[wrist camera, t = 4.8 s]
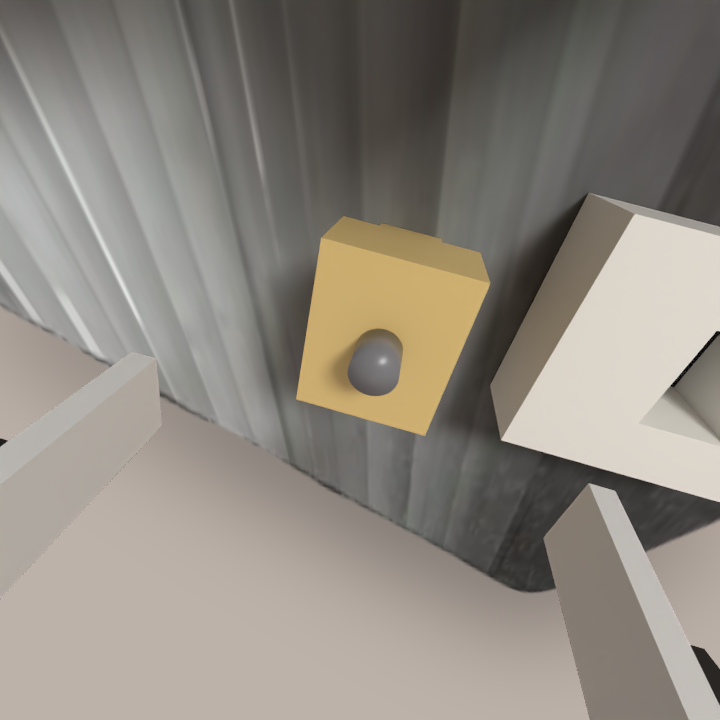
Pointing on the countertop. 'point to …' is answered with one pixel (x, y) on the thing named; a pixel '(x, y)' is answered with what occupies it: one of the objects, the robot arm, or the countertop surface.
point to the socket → (622, 350)
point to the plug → (388, 322)
